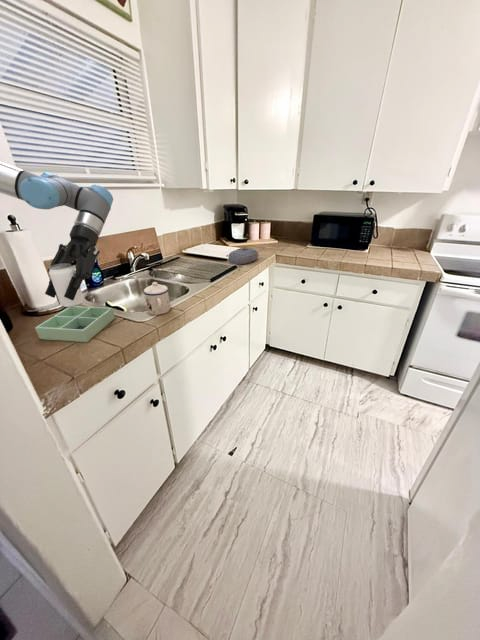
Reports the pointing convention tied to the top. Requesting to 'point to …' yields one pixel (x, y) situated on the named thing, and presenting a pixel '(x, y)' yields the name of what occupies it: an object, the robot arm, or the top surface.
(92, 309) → the tray with compartments
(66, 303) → the can
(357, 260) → the top surface
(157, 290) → the teacup with lid
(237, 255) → the grey rounded bag
